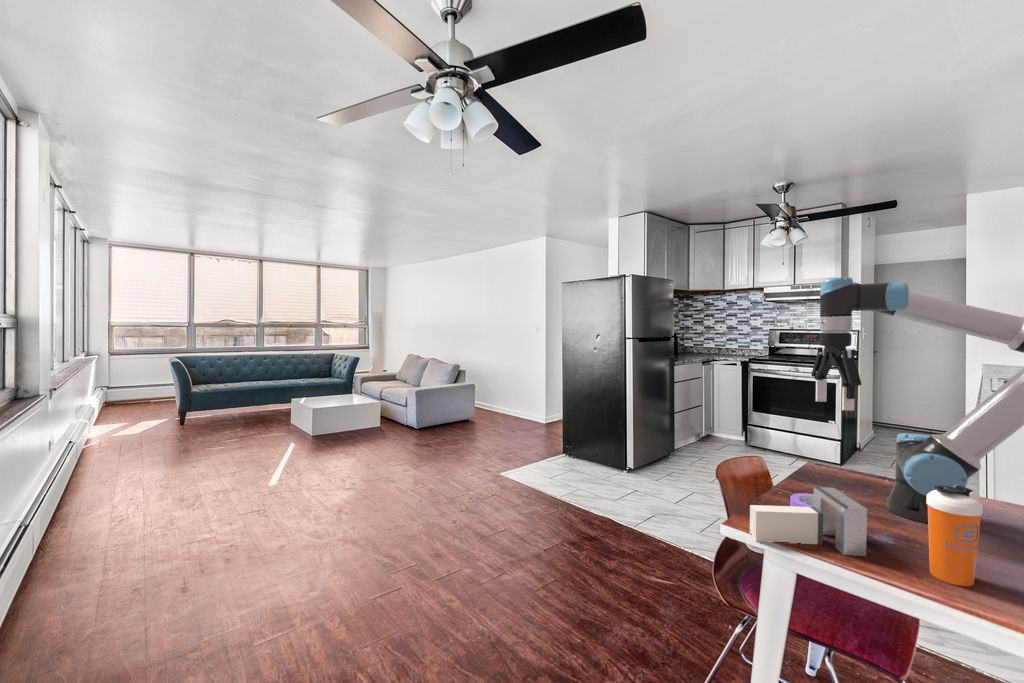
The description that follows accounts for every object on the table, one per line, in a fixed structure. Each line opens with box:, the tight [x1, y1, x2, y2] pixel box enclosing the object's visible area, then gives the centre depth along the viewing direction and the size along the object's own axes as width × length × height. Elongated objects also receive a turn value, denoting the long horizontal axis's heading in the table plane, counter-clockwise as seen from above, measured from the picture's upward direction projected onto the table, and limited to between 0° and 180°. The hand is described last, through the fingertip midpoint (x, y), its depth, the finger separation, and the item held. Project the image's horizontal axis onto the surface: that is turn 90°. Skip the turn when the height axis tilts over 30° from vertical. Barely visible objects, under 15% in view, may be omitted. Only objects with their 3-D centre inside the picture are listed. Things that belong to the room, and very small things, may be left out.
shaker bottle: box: [926, 485, 984, 587], centre depth 101 cm, size 9×9×20 cm
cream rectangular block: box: [749, 504, 824, 546], centre depth 119 cm, size 16×4×8 cm, turn 83°
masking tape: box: [789, 492, 814, 507], centre depth 135 cm, size 12×12×4 cm
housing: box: [812, 484, 868, 557], centre depth 118 cm, size 5×14×12 cm, turn 173°
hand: (833, 405), depth 133 cm, fingers open, 13 cm apart
